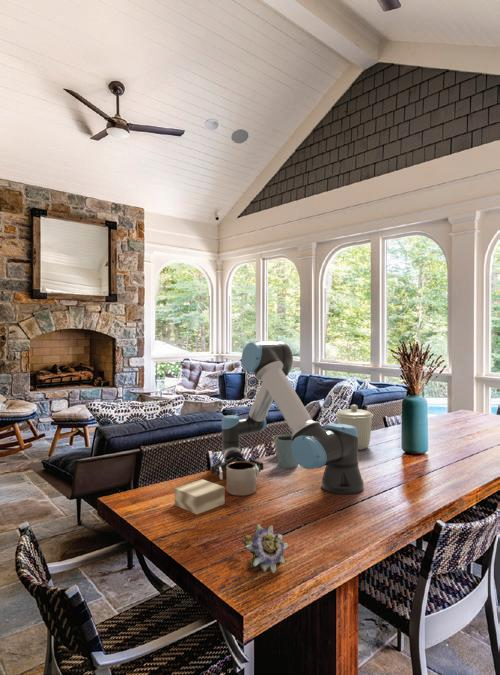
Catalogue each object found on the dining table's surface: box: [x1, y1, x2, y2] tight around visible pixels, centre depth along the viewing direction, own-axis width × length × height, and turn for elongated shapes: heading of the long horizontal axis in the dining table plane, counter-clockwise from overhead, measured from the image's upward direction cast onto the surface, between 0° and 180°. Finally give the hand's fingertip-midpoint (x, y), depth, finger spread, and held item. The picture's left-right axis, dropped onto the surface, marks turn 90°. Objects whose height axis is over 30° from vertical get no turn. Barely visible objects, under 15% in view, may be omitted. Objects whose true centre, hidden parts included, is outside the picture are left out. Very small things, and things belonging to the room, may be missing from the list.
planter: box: [226, 461, 258, 497], centre depth 162 cm, size 11×11×10 cm
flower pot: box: [272, 434, 283, 457], centre depth 206 cm, size 9×9×9 cm
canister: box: [335, 404, 374, 451], centre depth 217 cm, size 18×18×21 cm
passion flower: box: [241, 523, 289, 574], centre depth 111 cm, size 11×11×12 cm
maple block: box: [173, 478, 226, 515], centre depth 151 cm, size 12×12×6 cm
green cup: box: [276, 434, 299, 469], centre depth 192 cm, size 10×10×12 cm
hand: (239, 474), depth 163 cm, fingers open, 13 cm apart
